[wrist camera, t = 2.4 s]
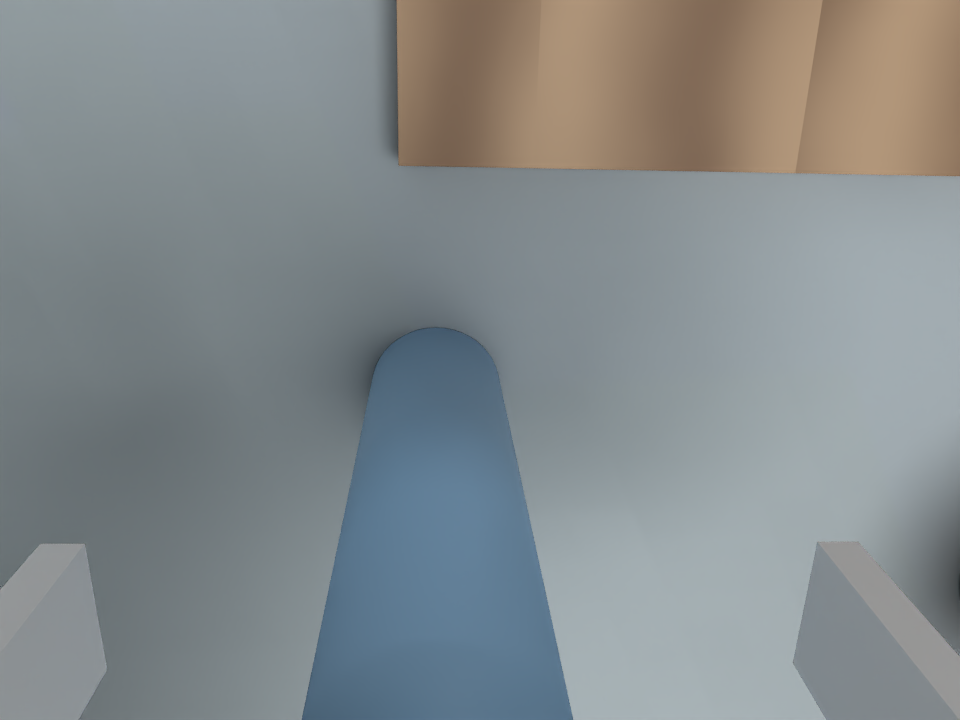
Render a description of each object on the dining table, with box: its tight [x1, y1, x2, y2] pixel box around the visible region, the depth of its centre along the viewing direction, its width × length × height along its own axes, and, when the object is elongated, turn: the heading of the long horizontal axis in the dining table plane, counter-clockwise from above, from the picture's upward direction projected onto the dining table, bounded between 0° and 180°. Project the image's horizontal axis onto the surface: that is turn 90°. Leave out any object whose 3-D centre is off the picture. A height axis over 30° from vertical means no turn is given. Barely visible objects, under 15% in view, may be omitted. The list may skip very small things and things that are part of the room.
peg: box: [302, 328, 573, 720], centre depth 18 cm, size 4×4×14 cm
